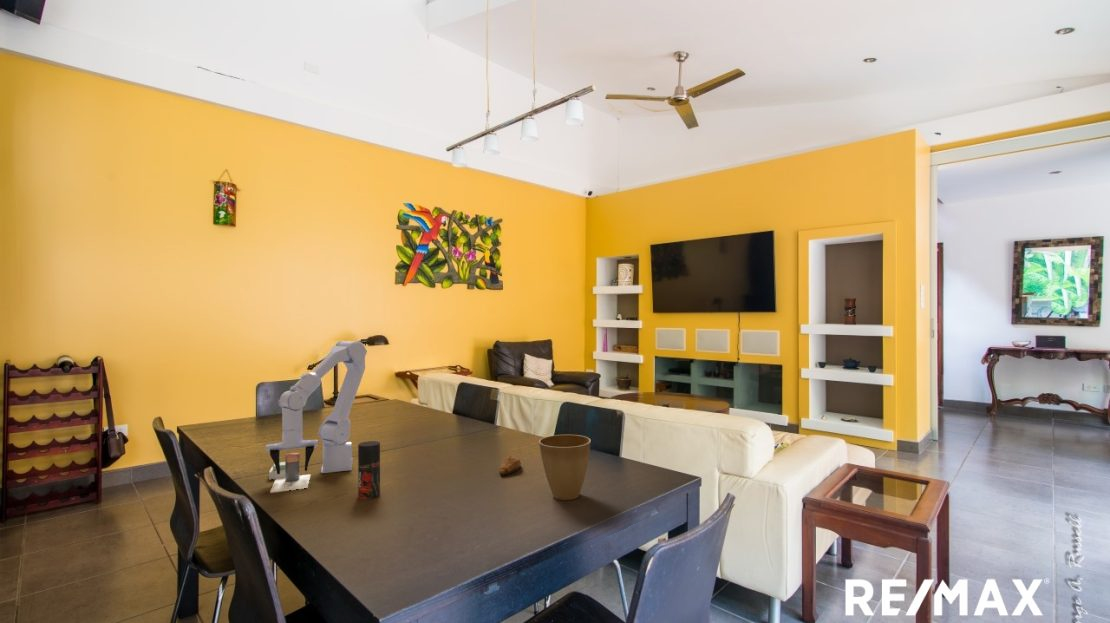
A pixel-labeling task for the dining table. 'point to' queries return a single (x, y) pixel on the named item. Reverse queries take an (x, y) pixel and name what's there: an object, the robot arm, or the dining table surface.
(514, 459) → the croissant
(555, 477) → the plant pot
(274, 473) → the button housing
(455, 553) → the dining table surface
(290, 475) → the grey and orange block
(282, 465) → the button
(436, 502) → the dining table surface
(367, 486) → the deodorant
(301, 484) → the paper sheet
